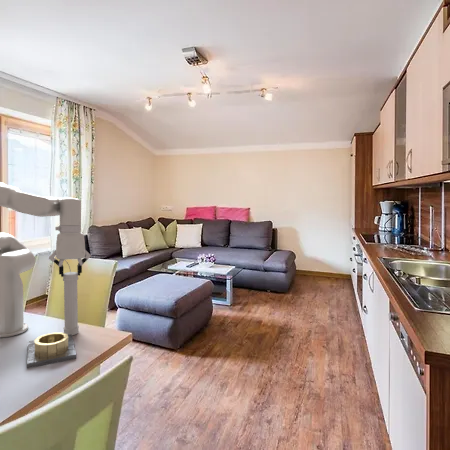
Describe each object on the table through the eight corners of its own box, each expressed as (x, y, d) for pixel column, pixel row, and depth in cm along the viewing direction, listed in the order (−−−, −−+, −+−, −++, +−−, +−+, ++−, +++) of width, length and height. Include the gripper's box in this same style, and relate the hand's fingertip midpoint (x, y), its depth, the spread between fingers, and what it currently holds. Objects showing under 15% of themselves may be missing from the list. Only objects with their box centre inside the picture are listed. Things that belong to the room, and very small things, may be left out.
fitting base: (28, 345, 115) (28, 330, 115) (71, 337, 122) (71, 324, 122) (27, 368, 99) (26, 351, 99) (76, 358, 107) (76, 342, 106)
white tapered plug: (72, 336, 123) (71, 260, 121) (58, 335, 124) (57, 259, 122) (81, 331, 128) (81, 258, 126) (68, 329, 130) (67, 257, 127)
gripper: (45, 230, 116) (45, 279, 117) (95, 230, 125) (95, 275, 126) (45, 229, 122) (45, 275, 124) (92, 228, 131) (92, 271, 132)
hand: (70, 275), depth 125 cm, fingers closed on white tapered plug, 5 cm apart
